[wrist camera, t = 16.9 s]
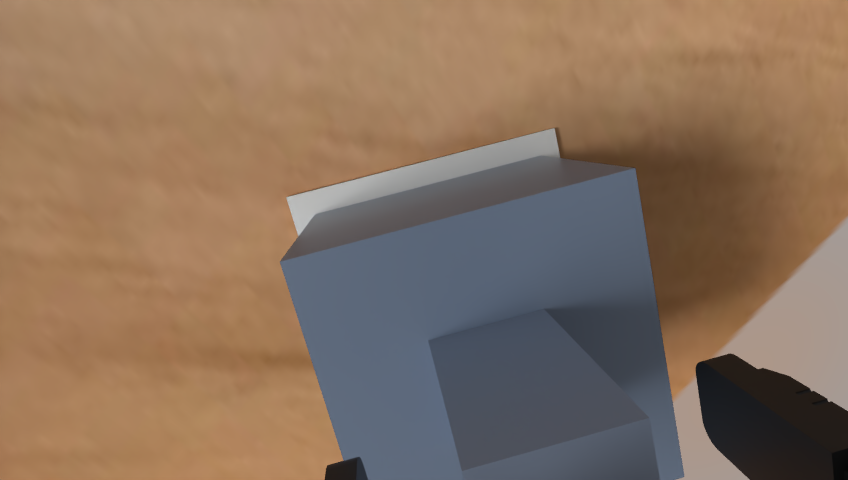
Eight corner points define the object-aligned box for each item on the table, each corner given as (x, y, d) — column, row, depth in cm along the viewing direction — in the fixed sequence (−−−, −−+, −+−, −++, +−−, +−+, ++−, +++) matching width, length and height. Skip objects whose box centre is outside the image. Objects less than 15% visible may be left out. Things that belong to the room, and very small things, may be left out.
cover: (315, 213, 23) (214, 350, 8) (539, 155, 23) (808, 190, 9) (376, 417, 25) (379, 803, 11) (579, 361, 25) (849, 658, 11)
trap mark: (287, 196, 23) (286, 197, 22) (552, 128, 23) (554, 128, 23) (361, 437, 25) (361, 439, 25) (599, 371, 26) (600, 373, 25)
